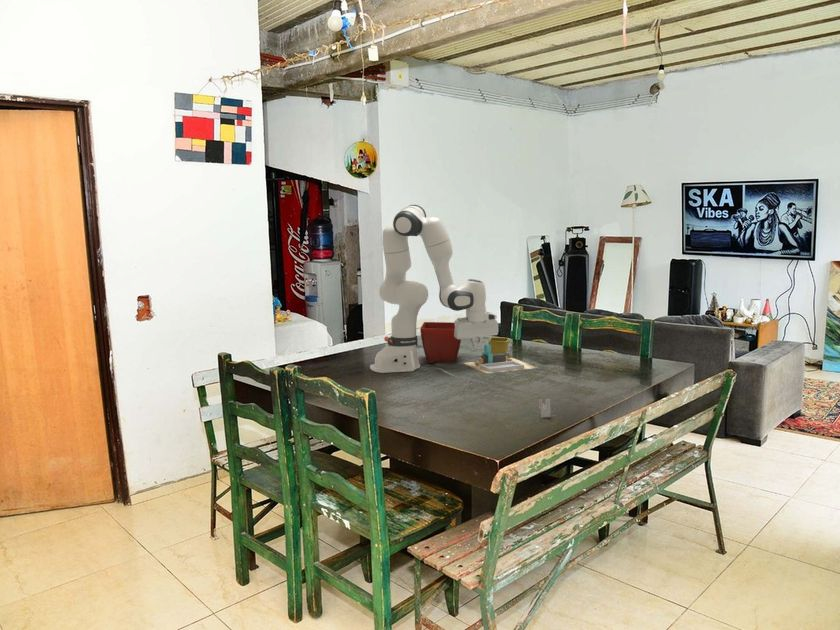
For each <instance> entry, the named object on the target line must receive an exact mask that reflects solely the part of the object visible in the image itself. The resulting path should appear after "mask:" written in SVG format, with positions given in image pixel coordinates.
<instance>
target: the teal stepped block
mask: <svg viewBox="0 0 840 630" xmlns="http://www.w3.org/2000/svg"><path fill="white" fill-rule="evenodd" d="M483 346H484V348H483V350H484V351H482V352H481V353H482V355H487V356H488V364H489V363H493V354H492V353H491V345H489V343H486V344H484V345H483Z"/></svg>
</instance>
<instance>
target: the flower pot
mask: <svg viewBox="0 0 840 630" xmlns="http://www.w3.org/2000/svg"><path fill="white" fill-rule="evenodd" d="M509 342H510V338H509V337H493V336H490V338H489V339H488V344H489V345H491V353H492V354H500V353H503V354H506V355H507V352H508V351H509Z"/></svg>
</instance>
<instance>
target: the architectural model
mask: <svg viewBox="0 0 840 630" xmlns="http://www.w3.org/2000/svg"><path fill="white" fill-rule="evenodd" d="M538 410H540V418H541V419H542V418H543V419H544V418H551V398H545V404H544V402H543V399H540V398H539V400H538Z"/></svg>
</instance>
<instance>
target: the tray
mask: <svg viewBox="0 0 840 630" xmlns="http://www.w3.org/2000/svg"><path fill="white" fill-rule="evenodd" d="M480 368H481V369H483V370H485V371H487V372H496V373H499V372H498V371H505V372H508V371H507V370H514V371H517V370H516V369H523V370H525V369H524V365H523V364H520V363H518V362H515V361H508V362H498V363H489V364H480Z"/></svg>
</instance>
